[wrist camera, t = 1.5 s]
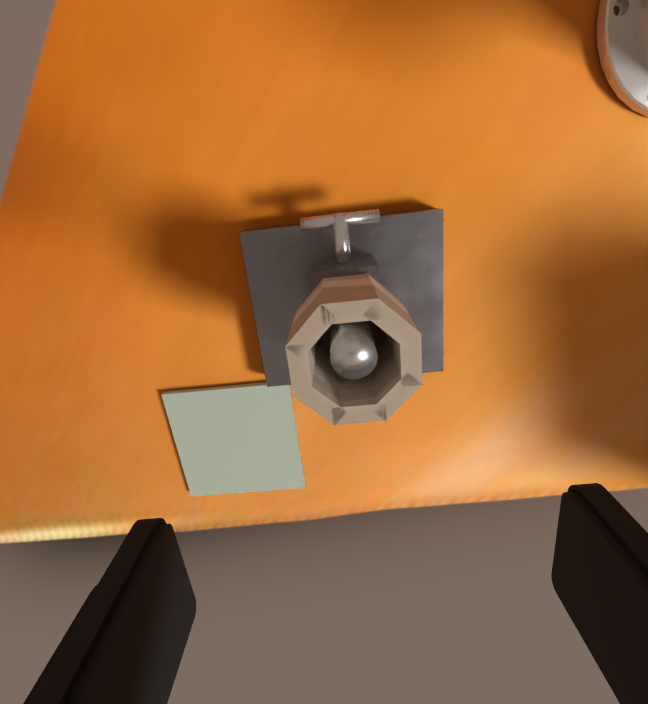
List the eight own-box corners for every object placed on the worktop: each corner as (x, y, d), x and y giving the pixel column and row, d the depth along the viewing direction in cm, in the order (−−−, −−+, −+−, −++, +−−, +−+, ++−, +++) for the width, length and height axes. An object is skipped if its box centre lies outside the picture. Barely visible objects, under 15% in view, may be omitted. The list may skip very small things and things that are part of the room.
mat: (288, 379, 34) (288, 383, 33) (305, 483, 38) (304, 487, 37) (163, 391, 35) (161, 394, 34) (193, 491, 39) (191, 496, 38)
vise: (435, 199, 28) (502, 203, 17) (437, 361, 33) (489, 446, 22) (243, 221, 29) (188, 239, 18) (270, 376, 34) (240, 465, 23)
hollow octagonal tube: (399, 269, 23) (420, 293, 18) (403, 369, 26) (423, 417, 20) (291, 281, 24) (278, 308, 18) (305, 378, 26) (297, 428, 21)
